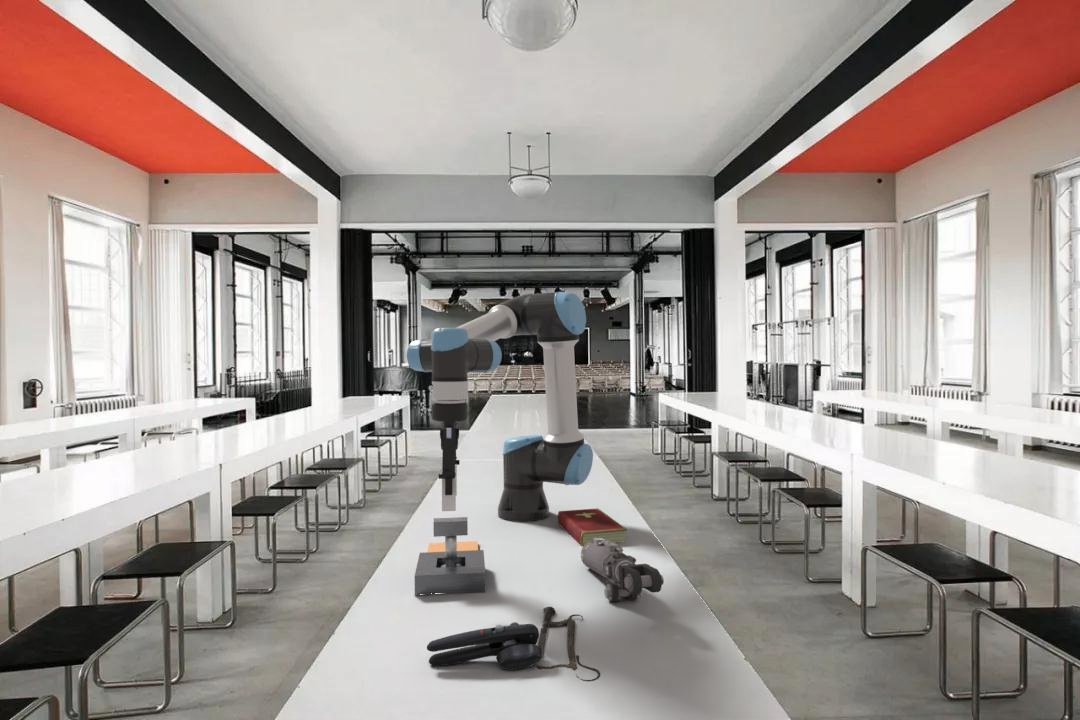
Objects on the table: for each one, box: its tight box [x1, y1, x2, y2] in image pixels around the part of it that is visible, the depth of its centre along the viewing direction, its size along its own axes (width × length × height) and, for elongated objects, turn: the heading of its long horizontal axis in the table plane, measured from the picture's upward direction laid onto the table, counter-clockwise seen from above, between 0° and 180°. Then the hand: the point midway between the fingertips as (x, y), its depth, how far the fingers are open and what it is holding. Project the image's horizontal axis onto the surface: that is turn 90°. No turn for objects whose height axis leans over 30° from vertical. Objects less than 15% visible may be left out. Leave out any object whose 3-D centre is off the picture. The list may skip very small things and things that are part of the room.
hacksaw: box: [535, 606, 601, 682], centre depth 102 cm, size 24×10×2 cm, turn 176°
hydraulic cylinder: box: [580, 538, 665, 603], centre depth 124 cm, size 7×37×10 cm, turn 13°
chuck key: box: [433, 516, 469, 567], centre depth 130 cm, size 7×4×13 cm, turn 97°
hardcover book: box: [557, 507, 627, 547], centre depth 164 cm, size 12×21×4 cm, turn 14°
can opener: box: [426, 621, 542, 671], centre depth 96 cm, size 18×7×6 cm, turn 94°
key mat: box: [426, 540, 479, 552], centre depth 148 cm, size 12×12×1 cm
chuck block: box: [414, 549, 487, 596], centre depth 130 cm, size 14×14×4 cm
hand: (449, 502), depth 129 cm, fingers open, 13 cm apart
